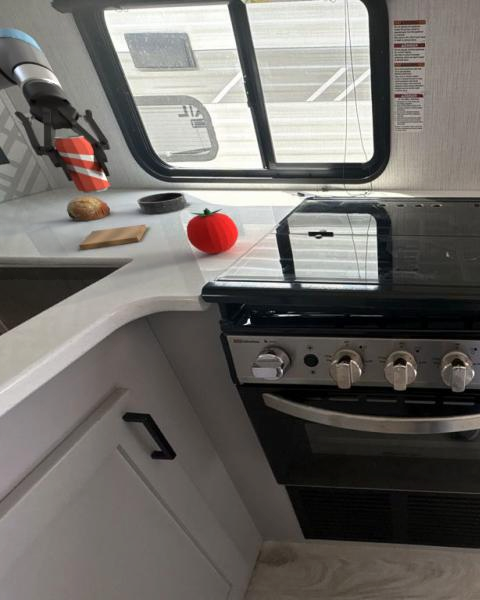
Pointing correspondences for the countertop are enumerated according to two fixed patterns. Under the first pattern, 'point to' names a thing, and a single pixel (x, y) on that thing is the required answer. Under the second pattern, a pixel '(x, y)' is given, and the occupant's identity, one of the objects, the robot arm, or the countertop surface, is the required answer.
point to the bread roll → (87, 208)
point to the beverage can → (81, 163)
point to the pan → (162, 203)
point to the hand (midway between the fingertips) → (88, 174)
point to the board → (113, 236)
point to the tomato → (212, 232)
